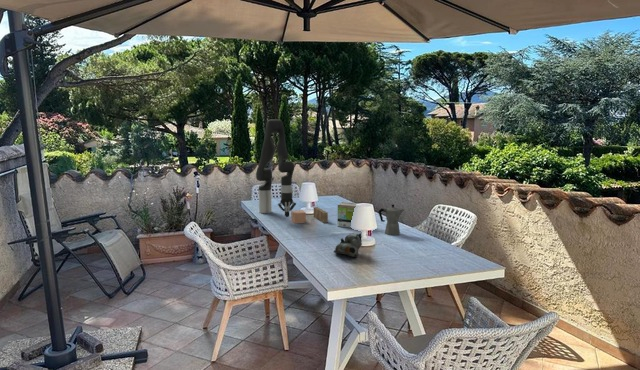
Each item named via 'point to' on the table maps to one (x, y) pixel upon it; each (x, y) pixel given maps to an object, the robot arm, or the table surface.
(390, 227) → the coffeepot
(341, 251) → the dark binoculars
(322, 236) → the table surface
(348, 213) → the tea box
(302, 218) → the terracotta block
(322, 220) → the walnut board
